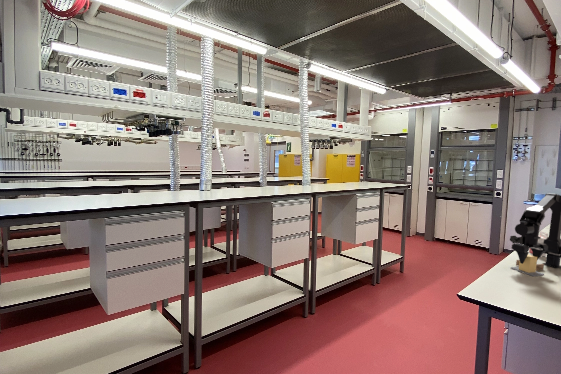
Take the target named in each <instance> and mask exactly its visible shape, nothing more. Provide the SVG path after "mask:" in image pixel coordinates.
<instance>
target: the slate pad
mask: <svg viewBox="0 0 561 374" xmlns="http://www.w3.org/2000/svg"><path fill="white" fill-rule="evenodd" d="M511 269H512V270H515V271H517V272H520V273H522V274H526V275H528V276H531V277H539V276H544V275H545V274H544V273H542V272H539V271H538V270H536V272H531V273H528V272H525V271H522V270H520V269H519V266H511V267H510V270H511Z"/></svg>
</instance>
